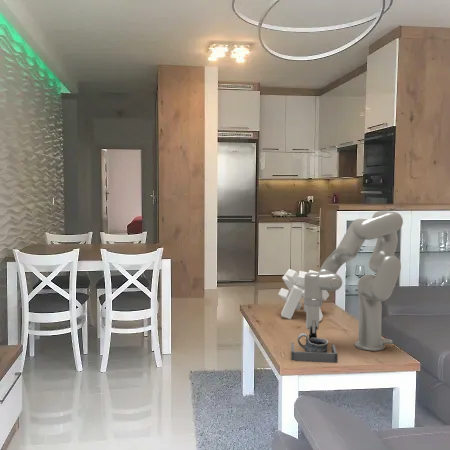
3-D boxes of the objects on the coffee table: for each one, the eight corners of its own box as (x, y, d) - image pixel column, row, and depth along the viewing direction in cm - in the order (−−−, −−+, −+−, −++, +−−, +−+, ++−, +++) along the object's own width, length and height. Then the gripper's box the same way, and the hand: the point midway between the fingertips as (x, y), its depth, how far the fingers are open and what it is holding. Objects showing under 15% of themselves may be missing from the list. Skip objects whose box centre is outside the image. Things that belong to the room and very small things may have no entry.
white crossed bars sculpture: (276, 316, 290) (258, 267, 277) (322, 296, 292) (306, 247, 278) (296, 349, 258) (276, 296, 244) (347, 327, 260) (331, 272, 246)
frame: (334, 352, 207) (334, 344, 207) (337, 362, 194) (337, 354, 194) (291, 350, 209) (291, 342, 209) (291, 360, 196) (291, 352, 196)
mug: (332, 360, 197) (332, 335, 196) (302, 362, 194) (302, 337, 194) (322, 352, 206) (322, 329, 206) (294, 354, 204) (294, 331, 203)
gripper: (303, 298, 217) (303, 338, 218) (305, 305, 202) (304, 349, 203) (320, 298, 216) (320, 339, 217) (323, 306, 201) (323, 349, 202)
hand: (312, 343), depth 210 cm, fingers closed
